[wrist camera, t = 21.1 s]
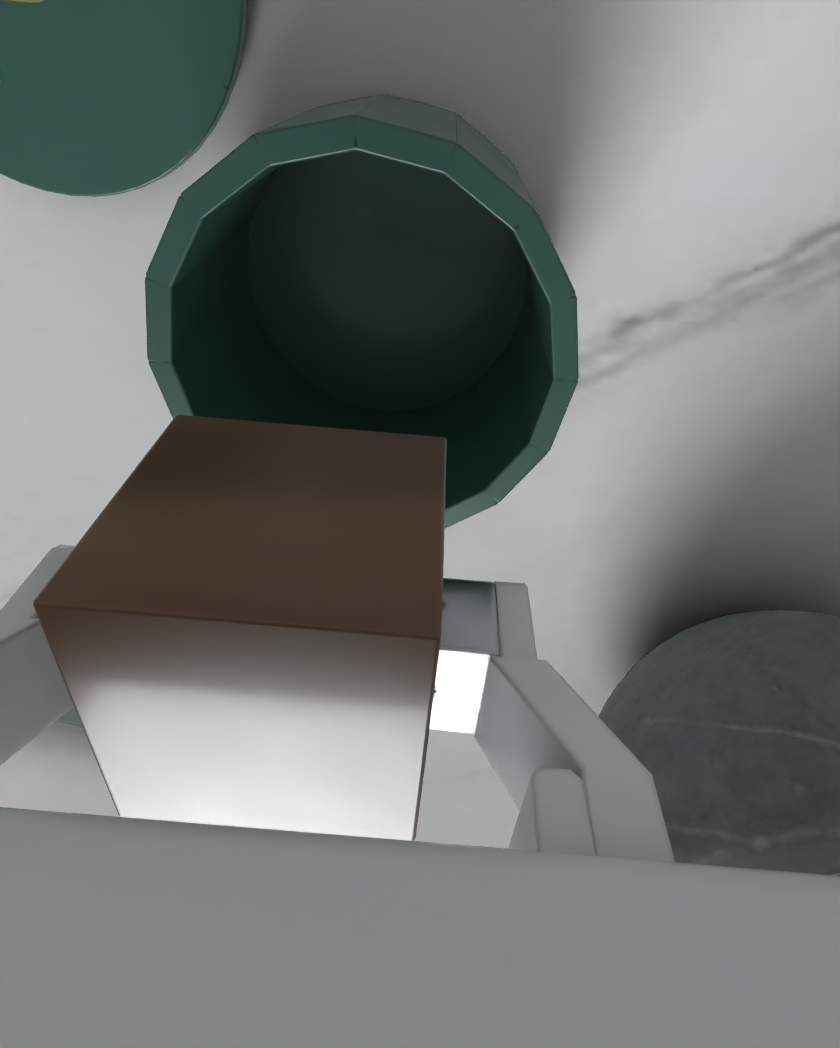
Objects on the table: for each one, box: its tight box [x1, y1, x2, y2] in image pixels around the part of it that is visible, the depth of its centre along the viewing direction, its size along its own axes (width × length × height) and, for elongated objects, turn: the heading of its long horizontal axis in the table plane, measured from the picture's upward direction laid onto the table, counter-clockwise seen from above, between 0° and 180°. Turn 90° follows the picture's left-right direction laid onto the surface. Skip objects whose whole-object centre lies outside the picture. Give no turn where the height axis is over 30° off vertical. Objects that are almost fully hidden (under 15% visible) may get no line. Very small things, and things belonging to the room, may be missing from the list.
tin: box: [145, 94, 578, 528], centre depth 21 cm, size 12×12×8 cm
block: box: [33, 415, 447, 841], centre depth 10 cm, size 4×4×4 cm
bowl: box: [598, 610, 840, 876], centre depth 31 cm, size 21×21×15 cm
